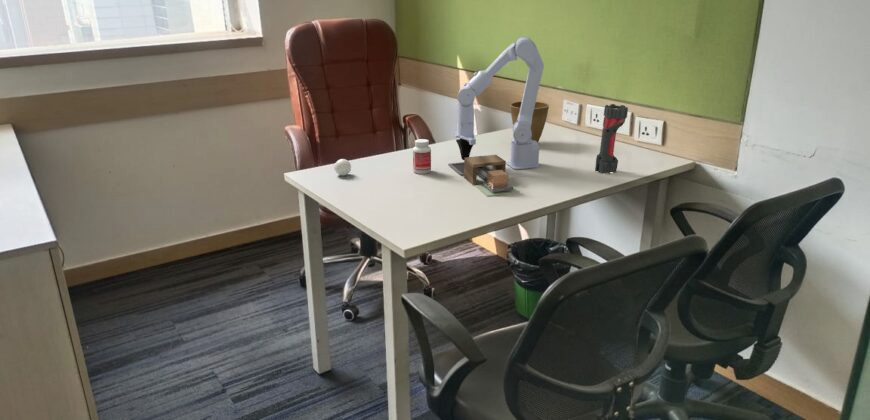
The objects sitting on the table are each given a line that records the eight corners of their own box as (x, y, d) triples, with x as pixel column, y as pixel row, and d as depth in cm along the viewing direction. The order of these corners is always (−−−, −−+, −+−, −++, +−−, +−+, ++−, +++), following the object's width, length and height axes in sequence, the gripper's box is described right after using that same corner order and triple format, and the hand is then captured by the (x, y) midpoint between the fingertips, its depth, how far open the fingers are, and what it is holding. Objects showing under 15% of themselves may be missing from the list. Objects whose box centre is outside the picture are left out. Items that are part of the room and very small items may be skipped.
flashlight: (625, 172, 222) (632, 106, 214) (611, 176, 218) (618, 109, 209) (607, 166, 228) (613, 102, 220) (592, 171, 223) (598, 105, 215)
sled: (482, 166, 225) (482, 154, 223) (513, 189, 203) (513, 175, 201) (463, 168, 223) (463, 155, 221) (492, 192, 200) (493, 178, 199)
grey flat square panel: (479, 162, 234) (479, 160, 234) (493, 172, 222) (493, 170, 222) (448, 165, 230) (448, 163, 230) (461, 176, 219) (461, 174, 218)
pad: (506, 182, 212) (506, 181, 212) (519, 192, 203) (519, 191, 203) (475, 186, 209) (475, 185, 209) (487, 196, 200) (487, 195, 200)
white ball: (355, 175, 220) (354, 159, 218) (342, 178, 216) (341, 162, 214) (340, 170, 225) (339, 154, 223) (327, 174, 221) (326, 158, 219)
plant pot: (553, 143, 256) (556, 104, 251) (532, 151, 246) (535, 110, 240) (522, 137, 266) (524, 98, 260) (501, 144, 255) (502, 104, 249)
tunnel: (495, 174, 220) (495, 154, 218) (505, 181, 213) (505, 161, 211) (464, 177, 217) (464, 157, 214) (472, 185, 210) (473, 164, 207)
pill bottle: (434, 172, 223) (434, 141, 219) (419, 175, 219) (419, 144, 215) (424, 167, 227) (424, 137, 223) (409, 170, 224) (409, 139, 220)
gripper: (447, 118, 231) (447, 154, 235) (462, 127, 218) (461, 166, 223) (466, 116, 233) (465, 153, 238) (481, 126, 220) (480, 164, 225)
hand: (465, 159), depth 230 cm, fingers closed
